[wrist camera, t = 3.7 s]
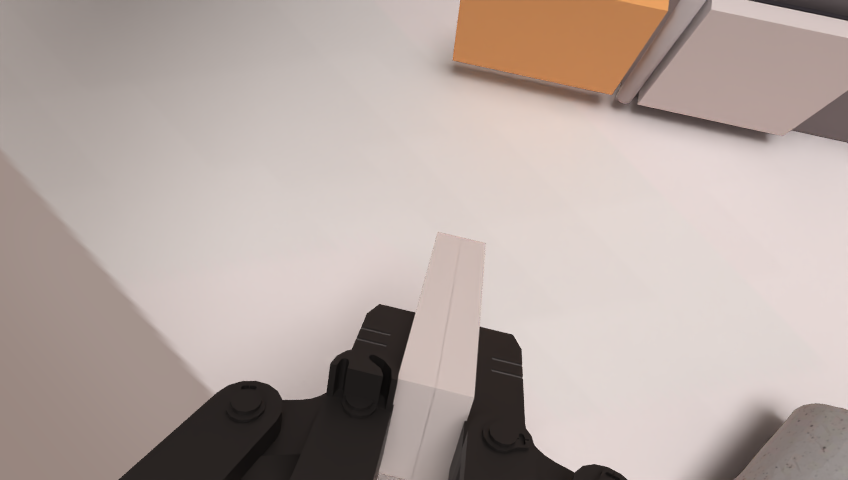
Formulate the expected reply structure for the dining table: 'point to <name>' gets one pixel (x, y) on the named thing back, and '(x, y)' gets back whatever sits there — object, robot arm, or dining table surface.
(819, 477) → the ceramic mug
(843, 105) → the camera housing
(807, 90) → the side door
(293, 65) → the dining table surface
